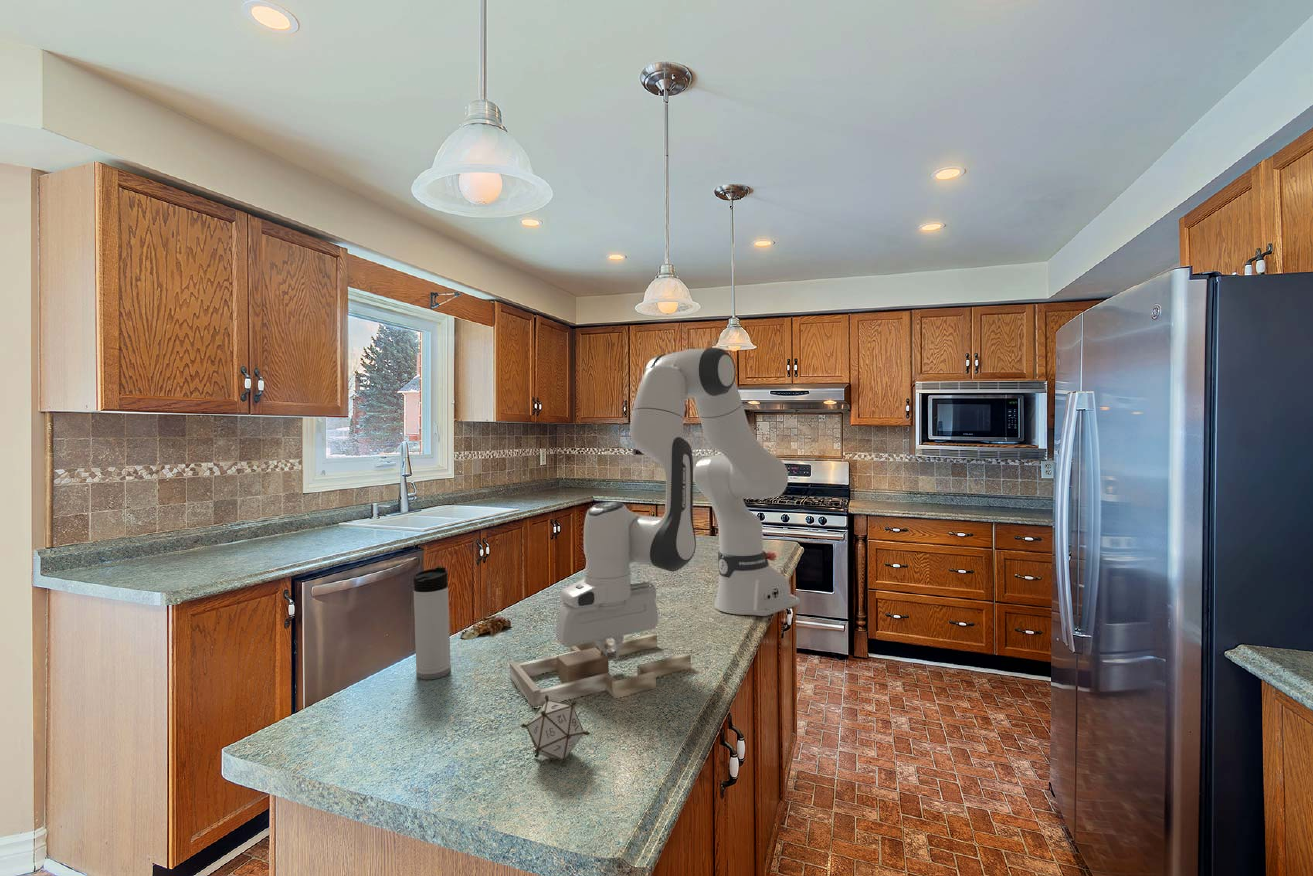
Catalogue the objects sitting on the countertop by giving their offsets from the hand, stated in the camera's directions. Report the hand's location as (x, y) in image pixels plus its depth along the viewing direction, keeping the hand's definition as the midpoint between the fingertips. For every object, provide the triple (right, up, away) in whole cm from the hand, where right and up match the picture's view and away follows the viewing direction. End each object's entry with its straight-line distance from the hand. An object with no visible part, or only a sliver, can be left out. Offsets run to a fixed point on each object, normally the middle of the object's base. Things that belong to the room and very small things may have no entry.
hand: (609, 659), depth 113 cm
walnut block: (-5, -3, -2) cm, 6 cm away
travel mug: (-34, -3, +1) cm, 34 cm away
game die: (-5, -3, -29) cm, 30 cm away
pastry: (-31, -3, +25) cm, 40 cm away
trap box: (-2, -2, -1) cm, 3 cm away
